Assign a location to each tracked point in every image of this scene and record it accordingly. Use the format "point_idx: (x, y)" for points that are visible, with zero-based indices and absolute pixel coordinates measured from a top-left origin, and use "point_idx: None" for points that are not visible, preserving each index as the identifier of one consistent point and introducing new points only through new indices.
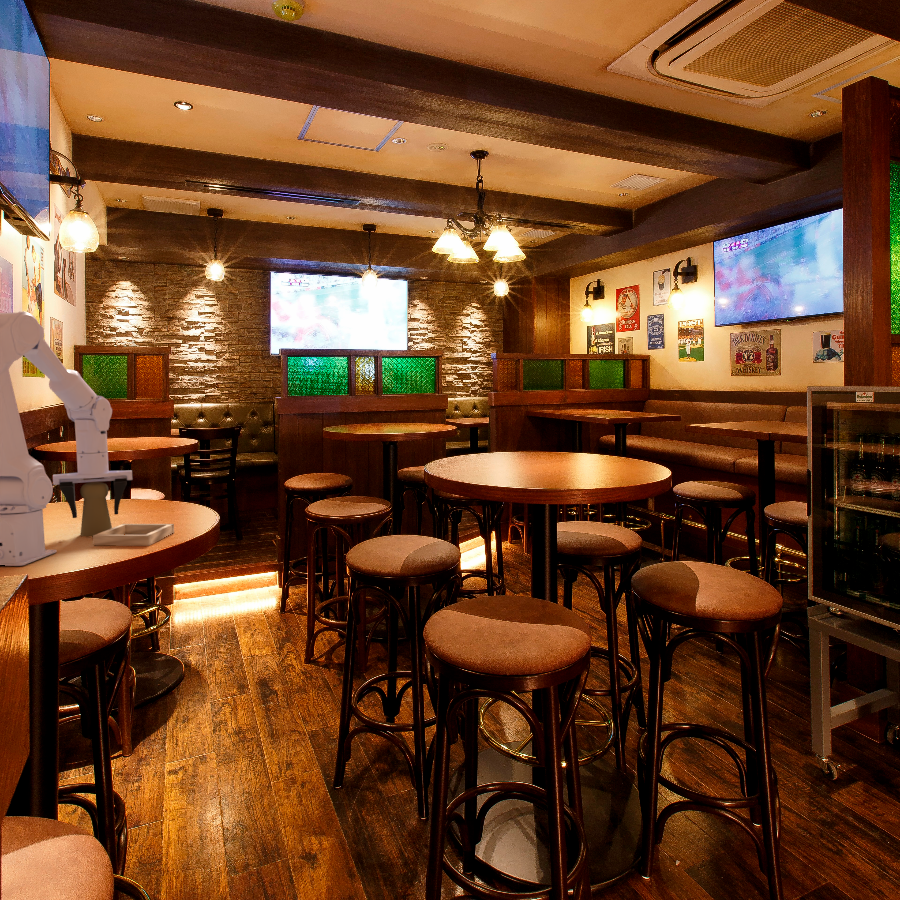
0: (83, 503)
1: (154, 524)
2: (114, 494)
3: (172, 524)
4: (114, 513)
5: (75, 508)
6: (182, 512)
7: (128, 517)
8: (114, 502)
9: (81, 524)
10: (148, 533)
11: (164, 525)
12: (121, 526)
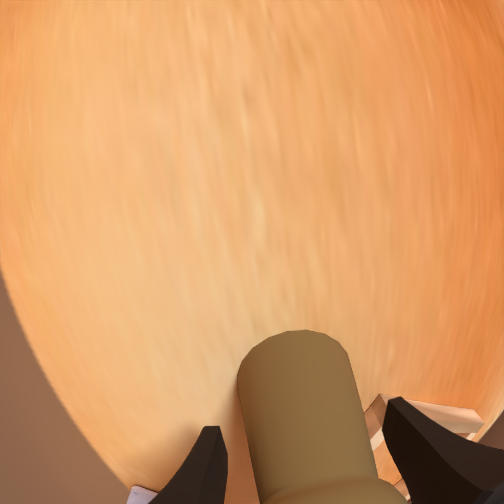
0: (258, 493)
1: (454, 429)
2: (421, 491)
3: (479, 429)
4: (383, 434)
5: (223, 490)
6: None
7: (392, 54)
8: (409, 447)
9: (243, 418)
10: (407, 496)
11: (466, 432)
12: (378, 444)
